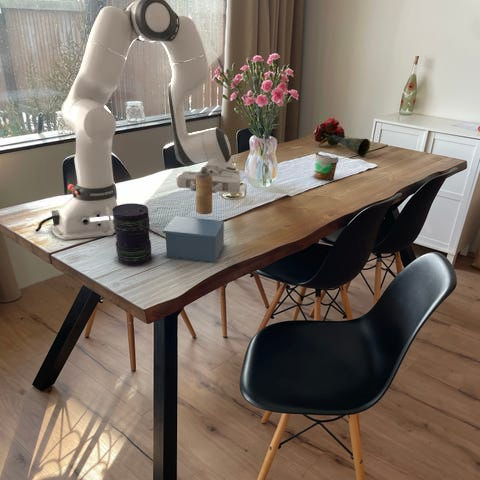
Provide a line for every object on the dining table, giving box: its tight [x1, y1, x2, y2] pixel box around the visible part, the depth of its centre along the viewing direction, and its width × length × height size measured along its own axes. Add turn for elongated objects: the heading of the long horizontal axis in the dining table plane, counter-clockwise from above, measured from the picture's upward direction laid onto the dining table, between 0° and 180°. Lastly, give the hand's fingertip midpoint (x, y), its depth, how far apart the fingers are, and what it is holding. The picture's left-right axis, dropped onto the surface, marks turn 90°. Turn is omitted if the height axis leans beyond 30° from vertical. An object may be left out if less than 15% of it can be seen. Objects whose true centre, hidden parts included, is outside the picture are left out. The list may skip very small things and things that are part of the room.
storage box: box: [165, 223, 225, 263], centre depth 145 cm, size 15×12×7 cm
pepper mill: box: [195, 166, 213, 215], centre depth 148 cm, size 5×5×14 cm
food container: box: [313, 151, 339, 181], centre depth 213 cm, size 12×6×10 cm, turn 42°
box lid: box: [162, 215, 225, 238], centre depth 143 cm, size 15×12×1 cm
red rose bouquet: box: [313, 117, 371, 158], centre depth 262 cm, size 16×18×35 cm
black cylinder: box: [112, 202, 153, 267], centre depth 137 cm, size 10×10×15 cm
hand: (203, 189), depth 147 cm, fingers closed on pepper mill, 5 cm apart
